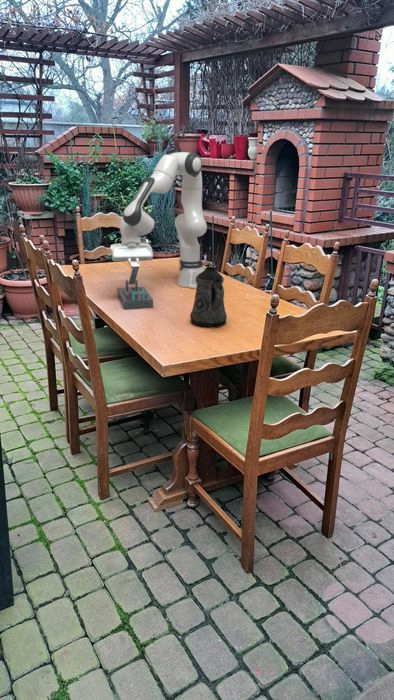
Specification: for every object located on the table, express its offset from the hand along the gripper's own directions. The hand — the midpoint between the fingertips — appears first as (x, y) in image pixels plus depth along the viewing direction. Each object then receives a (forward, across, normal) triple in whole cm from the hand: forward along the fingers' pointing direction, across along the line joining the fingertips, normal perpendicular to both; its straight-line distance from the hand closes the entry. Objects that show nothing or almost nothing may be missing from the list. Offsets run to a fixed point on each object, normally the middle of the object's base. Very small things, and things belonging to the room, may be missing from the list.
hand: (134, 267), depth 254 cm
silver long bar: (+1, 0, +6) cm, 6 cm away
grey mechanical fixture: (+11, 0, +15) cm, 18 cm away
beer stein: (+40, +28, -14) cm, 51 cm away
